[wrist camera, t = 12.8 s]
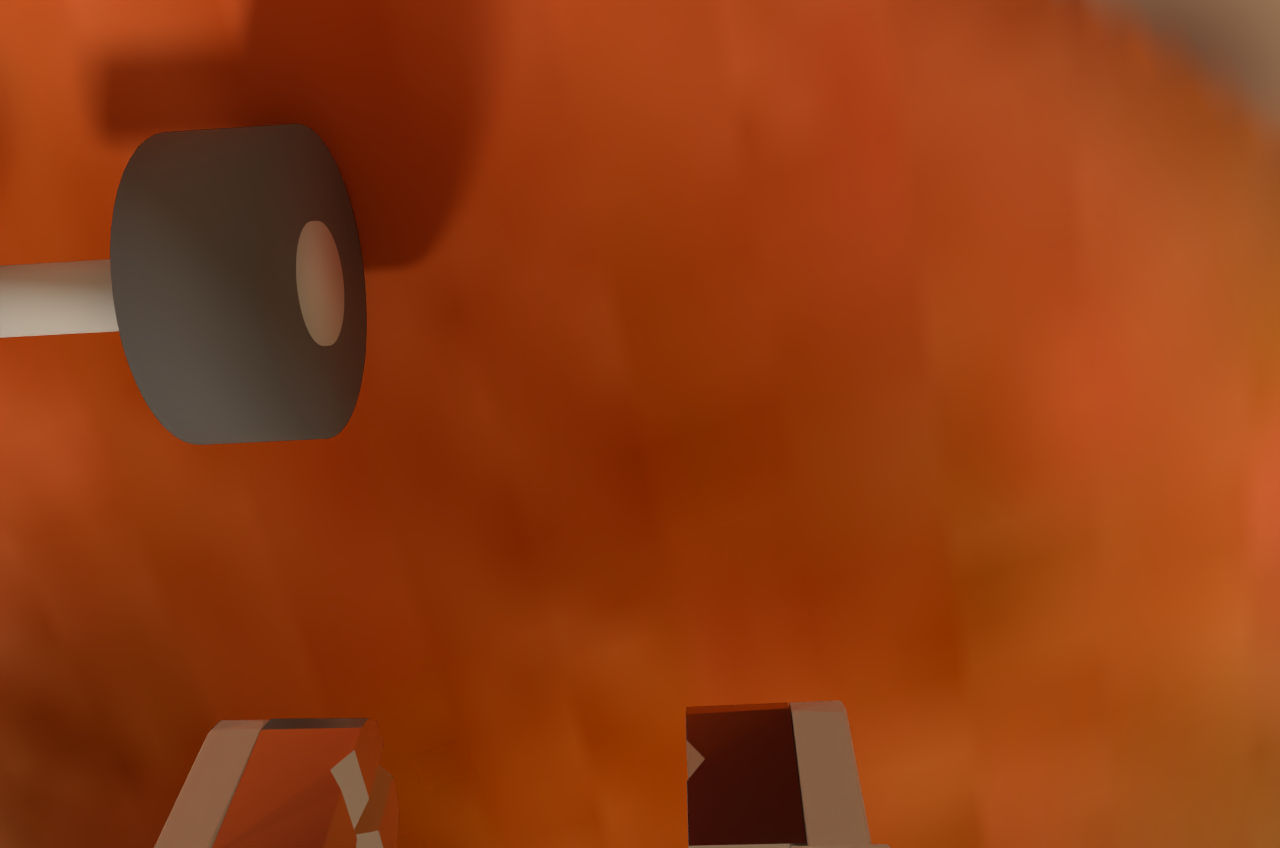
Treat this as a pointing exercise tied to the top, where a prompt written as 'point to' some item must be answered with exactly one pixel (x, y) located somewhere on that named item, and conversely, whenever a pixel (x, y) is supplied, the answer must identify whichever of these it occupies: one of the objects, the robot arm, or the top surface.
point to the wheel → (221, 286)
